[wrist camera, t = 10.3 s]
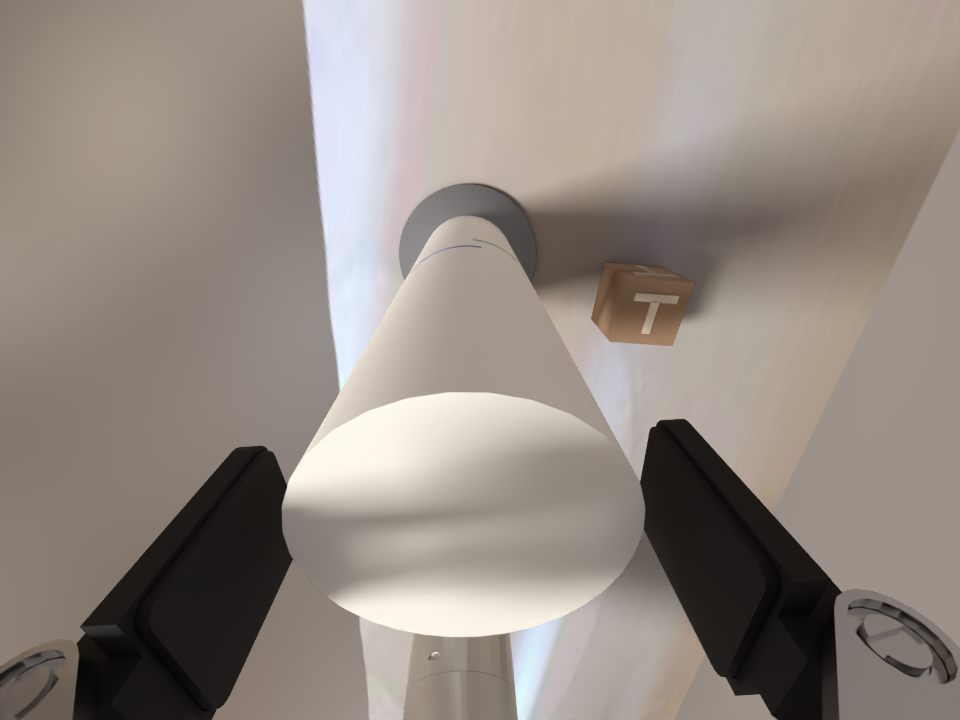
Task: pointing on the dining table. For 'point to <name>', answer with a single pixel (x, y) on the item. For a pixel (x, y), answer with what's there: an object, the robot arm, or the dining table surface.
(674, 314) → the wooden letter cube
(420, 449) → the cylindrical container
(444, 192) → the charcoal mat
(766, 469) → the dining table surface
